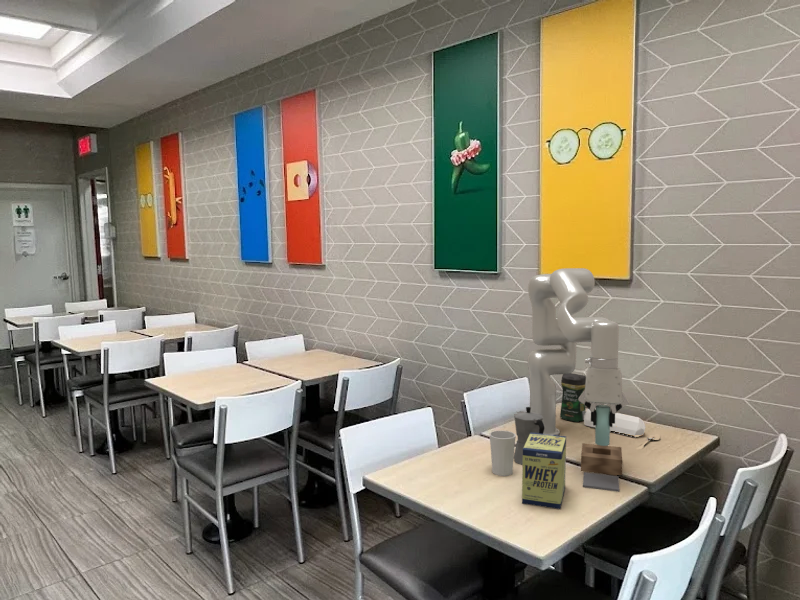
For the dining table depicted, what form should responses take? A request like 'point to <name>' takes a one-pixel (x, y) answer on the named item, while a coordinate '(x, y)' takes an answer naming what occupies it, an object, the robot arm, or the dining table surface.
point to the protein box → (544, 470)
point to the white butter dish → (621, 423)
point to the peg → (602, 425)
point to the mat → (601, 481)
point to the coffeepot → (526, 430)
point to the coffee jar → (572, 397)
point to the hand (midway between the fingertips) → (602, 424)
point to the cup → (502, 452)
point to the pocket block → (601, 459)
